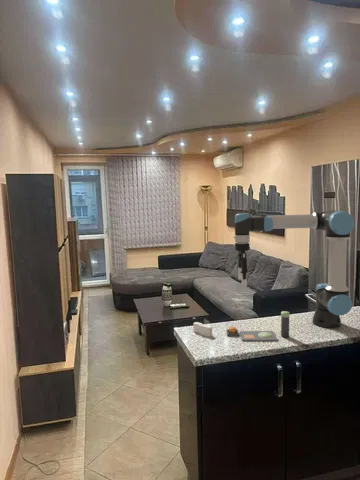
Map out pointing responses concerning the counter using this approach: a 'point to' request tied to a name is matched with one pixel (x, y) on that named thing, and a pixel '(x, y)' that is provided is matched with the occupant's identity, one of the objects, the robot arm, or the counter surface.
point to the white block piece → (202, 329)
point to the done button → (232, 329)
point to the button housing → (232, 333)
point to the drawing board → (258, 336)
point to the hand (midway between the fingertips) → (242, 282)
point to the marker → (285, 324)
